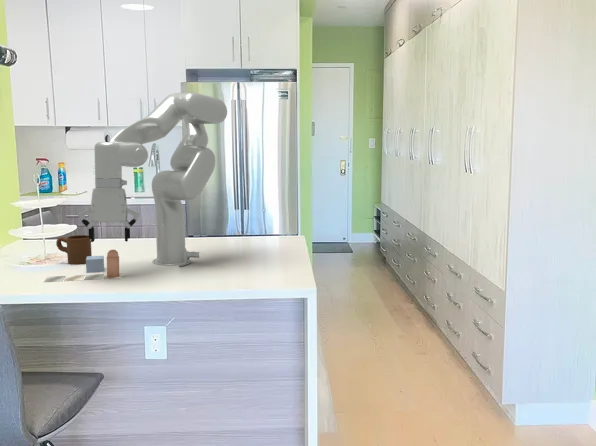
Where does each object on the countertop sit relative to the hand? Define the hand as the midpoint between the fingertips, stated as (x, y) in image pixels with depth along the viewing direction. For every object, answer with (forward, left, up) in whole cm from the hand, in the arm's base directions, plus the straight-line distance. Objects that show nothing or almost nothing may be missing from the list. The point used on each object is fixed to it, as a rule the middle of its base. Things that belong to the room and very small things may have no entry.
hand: (109, 241), depth 169 cm
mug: (+14, -24, -12) cm, 30 cm away
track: (+8, -1, -12) cm, 14 cm away
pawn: (-1, -1, -11) cm, 11 cm away
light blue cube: (+5, -10, -12) cm, 16 cm away
